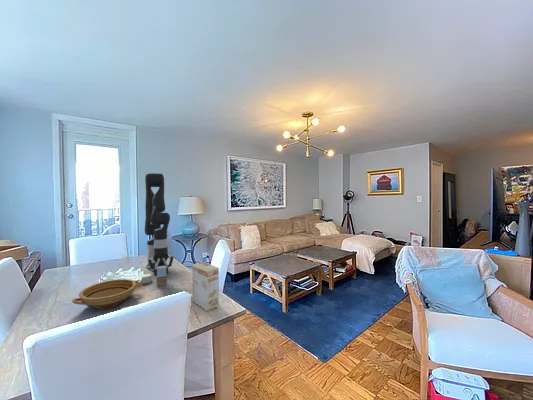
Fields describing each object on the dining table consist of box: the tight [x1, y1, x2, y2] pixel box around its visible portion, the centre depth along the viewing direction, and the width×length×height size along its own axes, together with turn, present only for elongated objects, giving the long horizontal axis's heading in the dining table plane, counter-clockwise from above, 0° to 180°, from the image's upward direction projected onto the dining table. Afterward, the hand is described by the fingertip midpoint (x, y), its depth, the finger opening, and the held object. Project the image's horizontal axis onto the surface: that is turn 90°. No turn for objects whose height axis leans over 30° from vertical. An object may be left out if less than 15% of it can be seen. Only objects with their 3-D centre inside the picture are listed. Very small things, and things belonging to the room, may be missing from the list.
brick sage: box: [141, 273, 152, 285], centre depth 144 cm, size 5×5×5 cm
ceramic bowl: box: [71, 278, 141, 310], centre depth 118 cm, size 30×24×8 cm
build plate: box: [149, 279, 174, 291], centre depth 139 cm, size 12×12×1 cm
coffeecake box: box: [191, 261, 220, 312], centre depth 117 cm, size 15×7×20 cm, turn 44°
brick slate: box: [156, 266, 167, 279], centre depth 139 cm, size 5×5×5 cm
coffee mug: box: [146, 261, 165, 277], centre depth 157 cm, size 12×9×10 cm
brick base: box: [156, 275, 167, 287], centre depth 139 cm, size 5×5×5 cm
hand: (161, 274), depth 139 cm, fingers closed on brick slate, 4 cm apart
